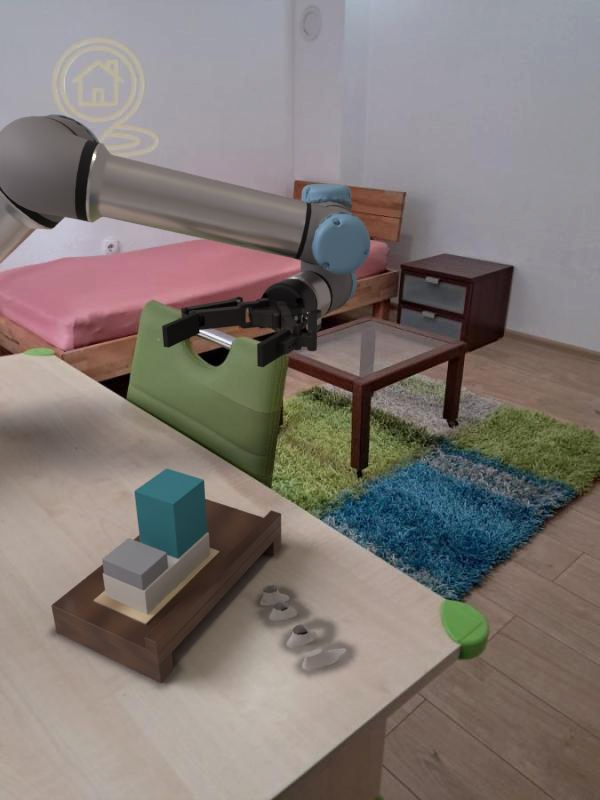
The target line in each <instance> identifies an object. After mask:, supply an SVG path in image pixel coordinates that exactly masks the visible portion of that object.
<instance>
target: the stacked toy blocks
mask: <svg viewBox="0 0 600 800" xmlns="http://www.w3.org/2000/svg"><path fill="white" fill-rule="evenodd" d="M205 487H206V486H205V479H203V478H200V477H196V476H193V475H190V474H186V473H184V472H180V471H177V470H174V469H171V468H165V469H163V470H162V471H160V472H159V473H158V474H156V475H155V476H153V477H151V479H149V480H148V481H147V482H144V484H143V483H142V484H141V486H139V487H137V488H136V489H134V491H133V492H134V500H135V508H136V519H137V526H138V536H140V542H138V541H135V540H134V539H132V538H129V537H128V538H126V539H125V540H124V541H122V542H121V543H120V544H119V545H117V546H116V547H115V548H114V549H112V550H111V551H110V552H109V553H108V554H107V555H105V556H104V557H102V558H101V562H102V564H103V569H104V573H103V579H104V586H105V592H106V596H107V597H109V598H111V599H113V600H116V601H118V602H120V603H123V604H125V605H127V606H129V607H132V608H134V609H136V610H138V611H141V612H143V613H145V614H148V613H150V612H151V611H152V610H153V609H154V608H155V607H156V606H157V605H158V604H159V603H160V602H161V601H162V600H163V599H164V598H165V597H166V596H167V595H168V594H169V593H170V592H171V591H172V590H173V589H174V588H175V587H176V586H178V585H179V584H180V583H181V582H182V581H183V580H184V579H185V578H186V577H187V576H188V575H189V574H190V573H191V572H192V571H193V570H194V569H195V568H196V567H197V566H198V565H199V564H200V563H201V562H202V561H203V560H204V559H206V558H207V557H208V556H209V555H210V545H209V533H207V519H206V503H205V499H206V489H205Z"/></svg>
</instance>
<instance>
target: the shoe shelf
mask: <svg viewBox="0 0 600 800" xmlns="http://www.w3.org/2000/svg"><path fill="white" fill-rule="evenodd" d="M205 503H206V519H207V533H209V545H210V555H209V556H208V557H207V558H206V559H204V560H203V561H202V562H201V563H200V564H199V565H198V566H197V567H196V568H195V569H194V570H193V571H192V572H191V573H190V574H189V575H188V576H187V577H186V578H185V579H184V580H183V581H182V582H181V583H180V584H179V585H178V586H176V587H175V588H174V589H173V590H172V591H171V592H170V593H169V594H168V595H167V596H166V597H165V598H164V599H163V600H162V601H161V602H160V603H159V604H158V605H157V606H156V607H155V608H154V609H153V610H152V611H151V612H150V613H148V614H145V613H143V612H141V611H138V610H136V609H134V608H132V607H129V606H127V605H125V604H123V603H120V602H118V601H116V600H113V599H111V598H109V597H107V596H106V592H105V586H104V579H103V573H104V569H103V563H102V564H101V565H100V566H98V567H97V568H96V569H95V570H93V571H92V572H91V573H90V574H88V575H87V576H86V577H85V578H83V579H82V580H81V581H80V582H79V583H77V584H76V585H74V587H72V588H71V589H70V590H68V591H67V592H66V593H65V594H63V595H61V597H60V598H58V599H57V600H55V601H54V603H52V604H51V605H50V606H51V612H52V618H53V622H54V627H55V631H56V633H57V634H59V635H61V636H63V637H65V638H67V639H69V640H71V641H73V642H75V643H77V644H79V645H81V646H83V647H85V648H87V649H89V650H92V651H94V652H96V653H97V654H99V655H101V656H104V657H106V658H108V659H110V660H112V661H114V662H116V663H118V664H119V665H122V666H124V667H126V668H129V669H130V670H132V671H135V672H136V673H138V674H141V675H142V676H145V677H146V678H148V679H151V680H152V681H155V682H157V683H159V684H162V683H163V682H164V681H165V679H167V677H168V676H169V675H170V674H171V673H172V672H173V671H174V661H173V659H174V658H173V652H174V651H175V650H176V649H177V647H179V645H180V644H181V643H182V642H183V641H184V640H185V639H186V638H187V637H188V636H189V634H191V632H192V631H193V630H194V629H195V628H196V627H197V626H198V625H199V623H200V622H202V620H203V619H204V618H205V617H206V616H207V615H208V614H209V613H210V612H211V610H212V609H214V607H215V606H216V605H217V604H218V603H219V602H220V601H221V599H222V598H224V597H225V595H226V594H227V593H228V592H229V591H230V590H231V588H232V587H234V585H235V584H236V583H237V582H238V581H239V580H240V579H241V578H242V577H243V576H244V574H245V573H246V572H247V571H248V570H249V569H250V568H251V567H252V566H253V565H254V564H255V563H256V561H257V560H258V559H259V558H261V556H262V555H263V554H267V555H269V556H272V557H274V556H275V555H276V554H277V553H278V552H280V550H281V548H282V513H281V512H278V511H275V510H270V511H268V513H267V514H265V516H264V517H263V516H260V515H257V514H253V513H250V512H247V511H246V510H245V511H244V510H241V509H239V508H235V507H232V506H229V505H227V504H223V503H220V502H217V501H214V500H211V499H209V498H208V499H207V498H205ZM133 540H135V541H138V542H140V536H139V535H137V536H136V537H135V538H134V539H133Z"/></svg>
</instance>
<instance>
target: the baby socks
mask: <svg viewBox="0 0 600 800" xmlns="http://www.w3.org/2000/svg"><path fill="white" fill-rule="evenodd" d="M289 600H290V596H289V595H287V594H285V593H281V592H280V591H279V588H278V586H277V585H276V584H268V585H267V586H263V588H262V597H261V599H260V601H259V604H260V606H272V610H271V612H270V614H269V616H268V619H269V620H270V621H286V620H289V619H292V618H295V617H296V616H297V615H298V611H297V610H296V609H295V608H294V607H290V605H289V603H287V601H289ZM301 633H304V634H301ZM317 635H318V634H317V632H316V631H314V630H310V628H309V627H308V626H307V625H305V624H297V625H295V627H293V629H292V632H291V635H290V637H289V638H288V640H287V641H286V646H287V647H288V648H291V649H294V648H298V647H303V646H306V645H308V644H310V643H312V642H313V641H315V640H316V638H317ZM346 652H347V649H346V648H345V647H342V648H334V649H328V650H324V649H323V648H315V649H313V650H310V651H308V652H306V653H305V654H304V659H303V662H302V665H301V666H302V667H301V668H302V669H303V670H304V671H306V672H308V671H309V672H311V671H315V670H318V669H321V668H324V667H327V666H330V665H333V664H334V663H336V662H338V660H339V659H340V655H342V654H345V653H346Z"/></svg>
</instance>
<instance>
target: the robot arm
mask: <svg viewBox="0 0 600 800" xmlns="http://www.w3.org/2000/svg"><path fill="white" fill-rule="evenodd" d="M352 208H353V202H352V190H351V188H350V187H349V186H347V185H346V184H340V183H339V184H338V183H312V184H307V185H305V186H304V187H303V188H302V190H301V198H300V199H296V198H292V197H288V196H283V195H279V194H277V193H276V194H275V193H271V192H267V191H263V190H258V189H255V188H252V187H251V188H250V187H247V186H242V185H238V184H235V183H231V182H226V181H221V180H218V179H213V178H209V177H205V176H201V175H197V174H192V173H188V172H186V171H185V172H184V171H181V170H178V169H177V170H176V169H173V168H169V167H163V166H161V165H156V164H152V163H148V162H143V161H139V160H136V159H131V158H127V157H123V156H118V155H115V154H112V153H111V152H110V151H109V150H108V148H107V146H106V145H105V144H104V143H102V142H100V140H99V139H98V137H97V136H96V135H95V134H94V132H93V131H92V130H91V129H90V128H88V127H87V126H86V125H85V124H84V123H82V122H80V121H78V120H77V119H75V118H73V117H70V116H67V115H64V114H58V113H57V114H46V115H39V116H38V115H31V116H23V117H19V118H17V119H14V120H12V121H11V122H9V123H7V124H6V125H5V126H4V127H2V129H1V130H0V265H2V263H3V262H4V261H5V260H7V258H8V257H9V256H10V255H11V254H12V253H14V252H15V251H16V250H17V249H18V248H19V247H20V246H21V245H22V244H23V243H24V242H25V241H26V240H27V239H29V237H30V236H31V235H32V234H33V233H34V232H35V231H36V230H53V229H55V228H56V226H58V225H59V223H61V222H62V221H63V220H64V219H65V218H67V219H73V220H78V221H83V222H86V223H87V222H88V223H95V222H97V220H99V219H101V218H108V219H113V220H116V221H122V222H125V223H130V224H135V225H140V226H144V227H149V228H153V229H158V230H163V231H167V232H170V233H174V234H175V233H176V234H180V235H185V236H188V237H189V236H190V237H194V238H199V239H203V240H208V241H212V242H217V243H222V244H226V245H231V246H235V247H239V248H244V249H248V250H253V251H258V252H262V253H268V254H272V255H277V256H280V257H284V258H290V259H294V260H297V261H300V272H298V273H296V274H293V275H290V276H289V277H286V278H284V279H282V280H280V281H278V282H275V283H273V284H270V286H268V287H267V288H266V289H265V290H264V292H263V293H262V296H261V297H260V298H257V299H256V300H251V301H244V297H242V296H236V297H233V298H230V299H226V300H220V301H213V302H209V303H202V304H201V303H200V304H195V305H191V306H184V307H181V308H180V315H181V317H180V318H177V319H175V320H173V321H170V322H167V323H165V324H164V325H162V326H161V332H162V343H163V347H164V348H168V349H169V348H171V347H173V346H175V345H177V344H180V343H182V342H185V341H186V340H188V339H190V338H193V337H196V336H197V335H199V334H200V333H201V332H200V331H204V330H212V329H213V330H214V329H223V328H230V327H231V328H232V327H240V328H241V329H244V330H245V329H254V328H259V329H271V330H273V331H274V332H276V333H274V334H273V335H270V336H269V337H267V338H266V339H264V340H262V341H260V342H258V343H256V355H257V356H256V360H257V361H256V362H257V363H256V364H257V367H259V368H265V367H266V366H268V365H269V364H271V363H273V362H274V361H276V360H277V359H279V358H281V357H282V356H285V355H288V354H290V353H292V352H293V351H300V350H302V348H306V350H307V351H308V352H316V351H317V350H318V331H320V330H321V329H322V318H324V317H325V316H327V315H328V314H330V313H332V312H334V311H337V310H339V309H341V308H342V307H344V306H345V305H346V304H347V303H348V302H349V301H350V300H351V299H352V298H353V297H354V296H355V293H356V291H357V287H358V278H357V275H356V273H355V272H356V271H357V270H358V269H360V268H361V267H362V266H363V265H364V264H365V262H366V261H367V260H368V259H367V258H368V257H369V255H370V252H371V236H370V233H369V231H368V228H367V227H366V224H365V223H364V221H363V220H362V218H360V217H358V216H357V215H356V214H354V213H352ZM247 315H248V320H249V321H247ZM304 329H306V330H307V331H306V332H302V331H303V330H304Z"/></svg>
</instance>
